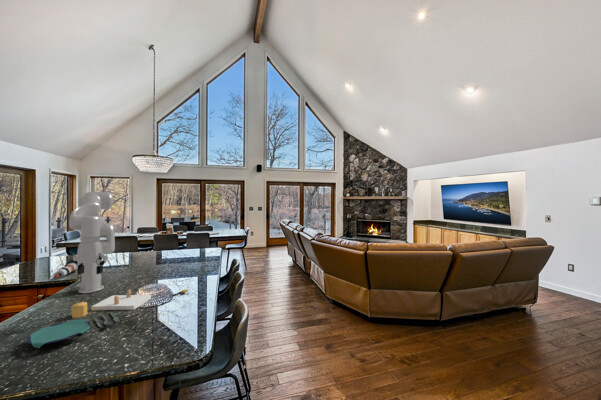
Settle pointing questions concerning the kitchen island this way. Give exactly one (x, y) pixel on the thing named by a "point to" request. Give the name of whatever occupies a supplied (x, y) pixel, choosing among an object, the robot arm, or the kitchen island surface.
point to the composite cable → (180, 292)
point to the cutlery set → (63, 331)
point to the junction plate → (121, 302)
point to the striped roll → (66, 269)
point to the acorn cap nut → (79, 309)
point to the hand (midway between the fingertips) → (90, 273)
